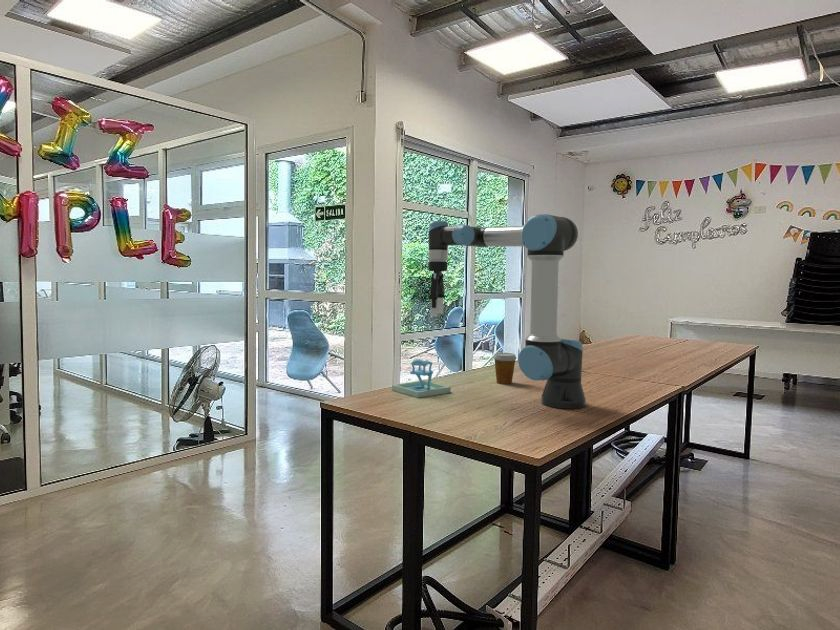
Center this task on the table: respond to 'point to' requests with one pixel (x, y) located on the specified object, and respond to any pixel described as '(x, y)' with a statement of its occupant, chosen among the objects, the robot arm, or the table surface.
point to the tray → (433, 390)
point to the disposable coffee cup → (504, 367)
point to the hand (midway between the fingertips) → (437, 315)
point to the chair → (421, 372)
